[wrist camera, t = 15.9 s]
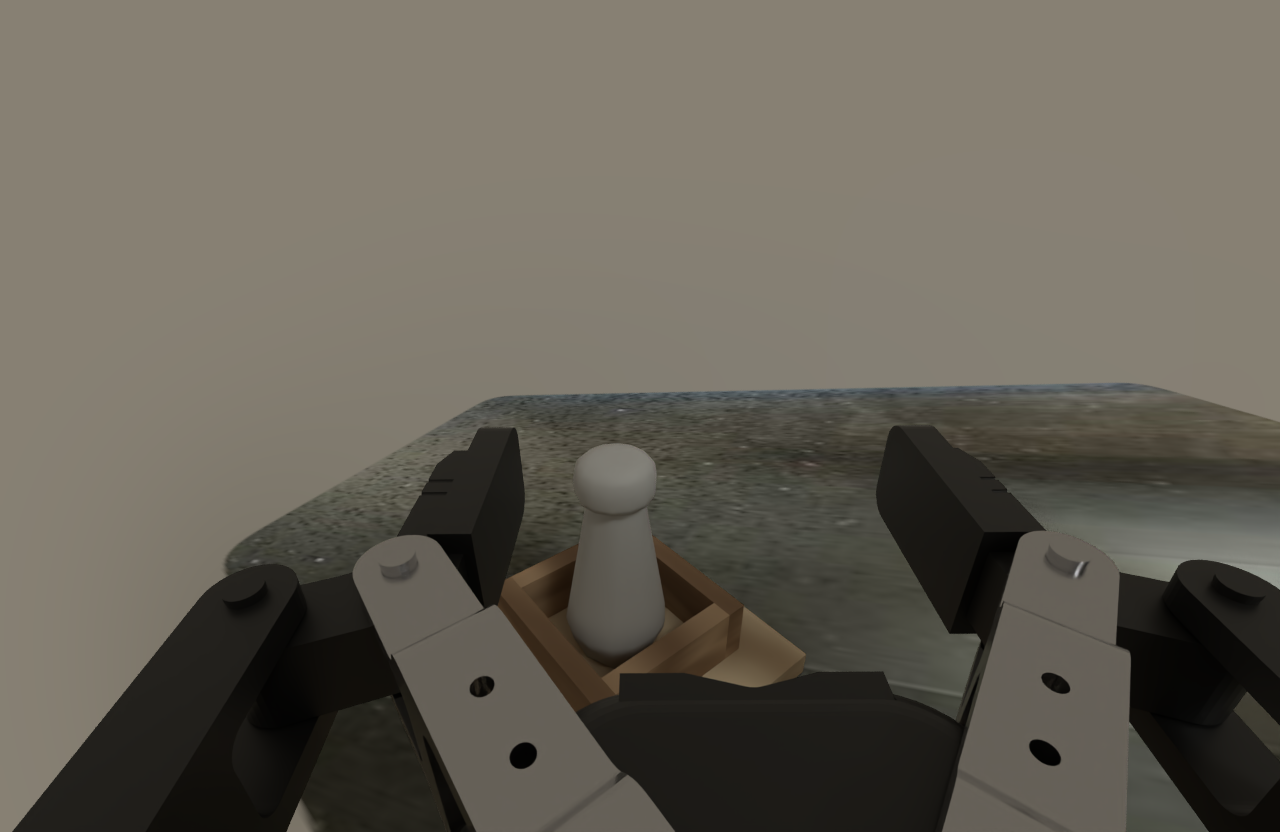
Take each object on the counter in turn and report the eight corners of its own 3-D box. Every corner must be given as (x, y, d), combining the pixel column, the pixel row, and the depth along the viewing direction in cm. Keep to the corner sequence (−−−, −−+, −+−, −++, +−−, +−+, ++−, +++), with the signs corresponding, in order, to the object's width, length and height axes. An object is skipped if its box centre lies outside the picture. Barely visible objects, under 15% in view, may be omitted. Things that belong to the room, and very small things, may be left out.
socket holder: (635, 538, 46) (636, 486, 44) (802, 671, 36) (814, 610, 33) (440, 640, 37) (428, 580, 35) (584, 860, 26) (579, 795, 24)
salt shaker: (548, 642, 35) (532, 458, 29) (613, 591, 39) (611, 418, 33) (619, 699, 32) (617, 504, 26) (683, 637, 36) (694, 454, 30)
